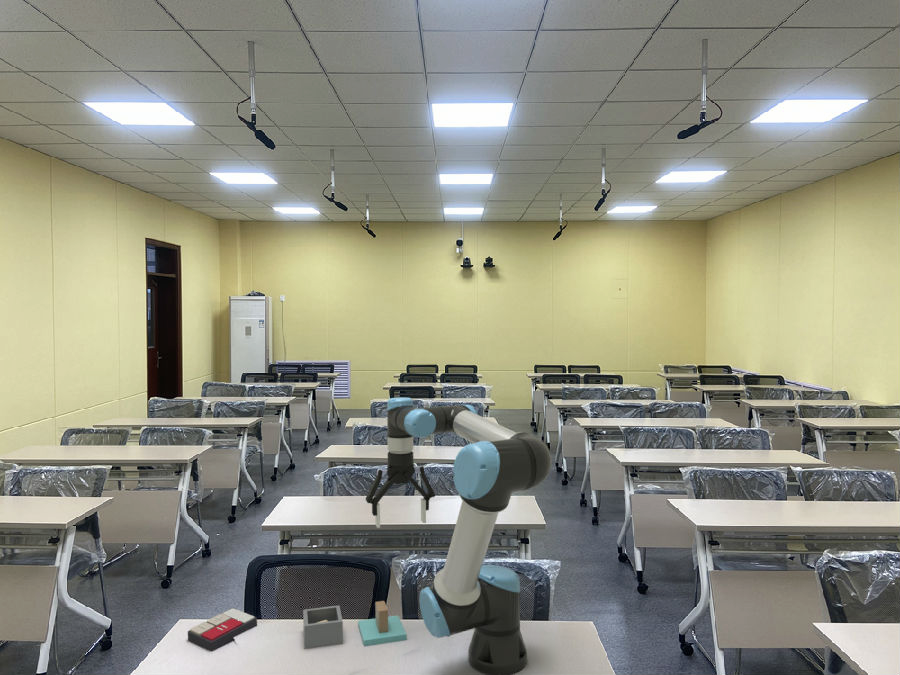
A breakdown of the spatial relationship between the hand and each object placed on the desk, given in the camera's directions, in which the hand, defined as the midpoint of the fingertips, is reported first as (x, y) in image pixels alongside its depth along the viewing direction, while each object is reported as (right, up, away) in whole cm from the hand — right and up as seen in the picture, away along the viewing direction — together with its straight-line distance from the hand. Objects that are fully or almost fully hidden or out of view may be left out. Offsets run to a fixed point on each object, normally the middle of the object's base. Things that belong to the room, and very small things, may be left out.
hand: (400, 524), depth 175 cm
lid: (-5, -29, -7) cm, 30 cm away
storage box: (-21, -29, -10) cm, 37 cm away
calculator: (-50, -30, -6) cm, 58 cm away
